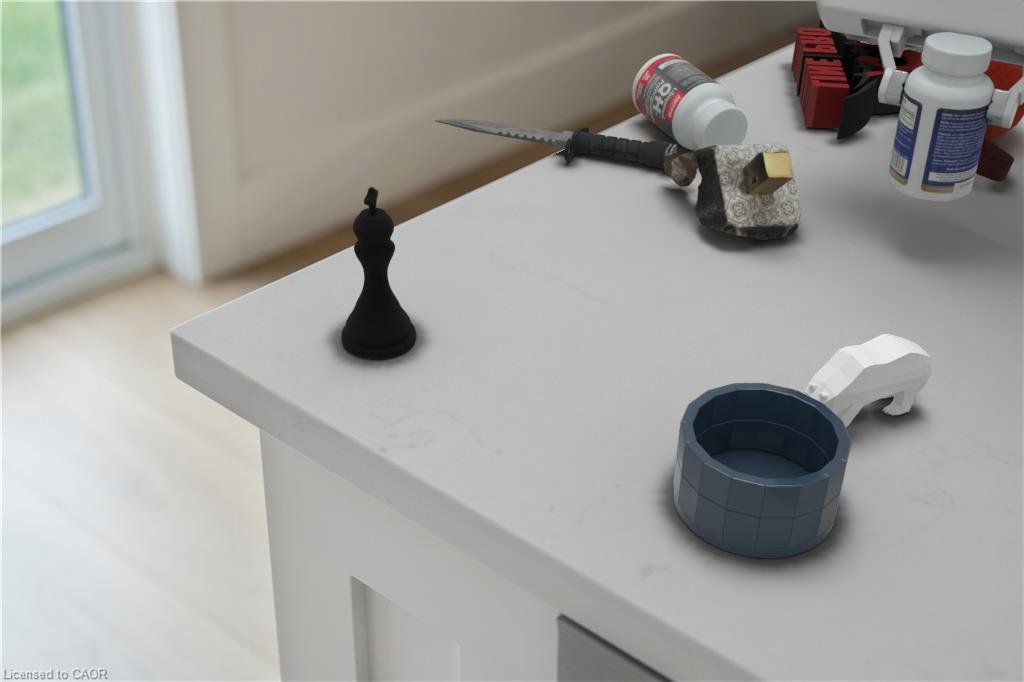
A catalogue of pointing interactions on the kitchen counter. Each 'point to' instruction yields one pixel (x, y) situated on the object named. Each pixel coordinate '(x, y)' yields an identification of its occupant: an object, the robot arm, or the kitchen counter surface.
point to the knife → (576, 141)
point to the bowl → (760, 469)
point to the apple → (1005, 79)
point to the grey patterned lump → (741, 188)
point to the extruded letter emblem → (841, 79)
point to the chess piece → (376, 291)
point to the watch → (994, 162)
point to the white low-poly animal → (872, 376)
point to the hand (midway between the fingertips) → (943, 112)
